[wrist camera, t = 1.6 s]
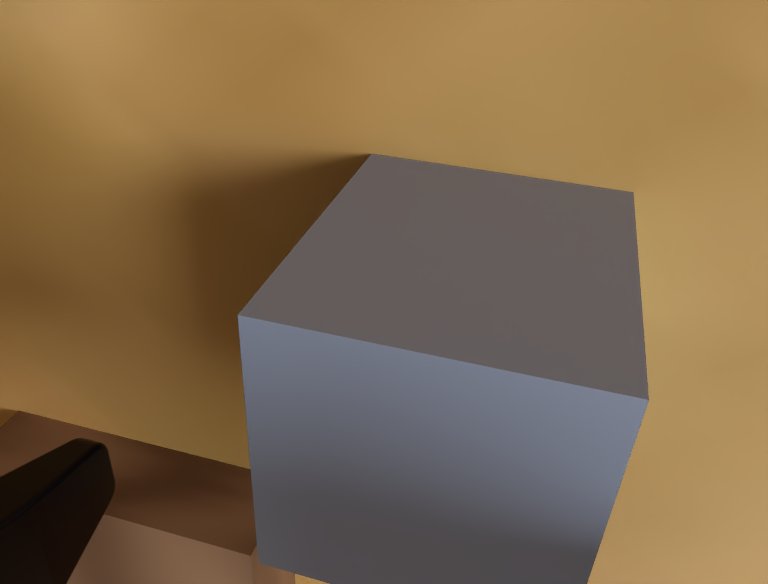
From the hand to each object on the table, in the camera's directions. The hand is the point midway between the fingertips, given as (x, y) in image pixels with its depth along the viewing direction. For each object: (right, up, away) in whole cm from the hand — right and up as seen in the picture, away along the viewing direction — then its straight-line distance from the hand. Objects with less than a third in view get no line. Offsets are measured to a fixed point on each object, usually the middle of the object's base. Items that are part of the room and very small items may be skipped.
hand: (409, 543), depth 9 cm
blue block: (+2, +3, +5) cm, 7 cm away
